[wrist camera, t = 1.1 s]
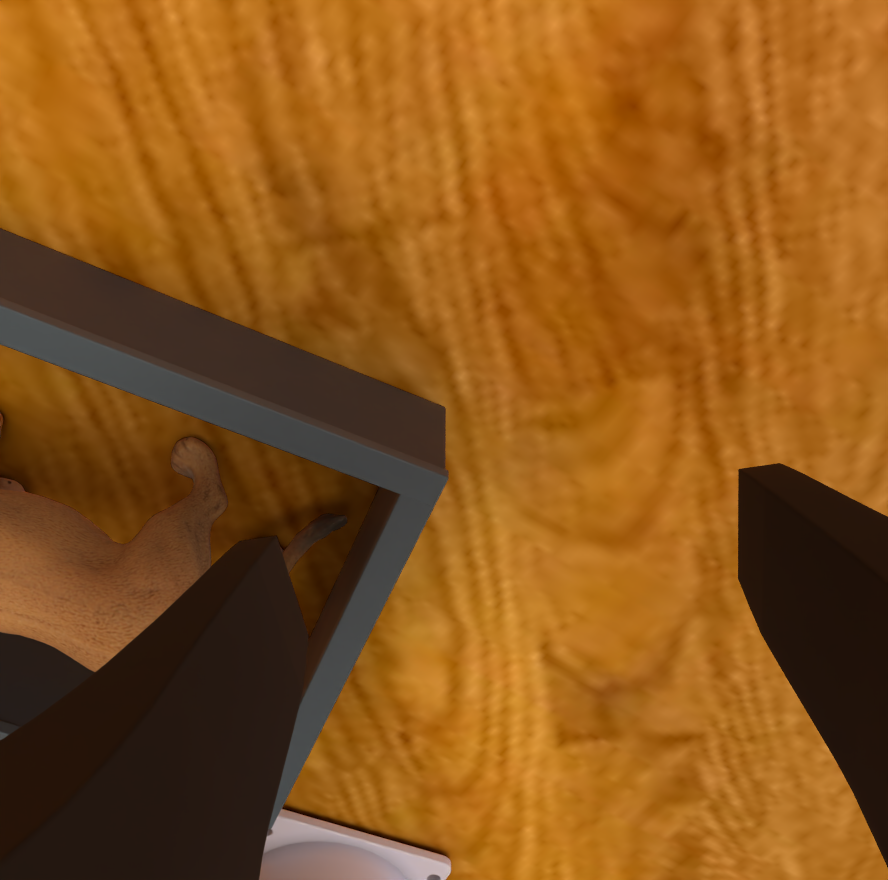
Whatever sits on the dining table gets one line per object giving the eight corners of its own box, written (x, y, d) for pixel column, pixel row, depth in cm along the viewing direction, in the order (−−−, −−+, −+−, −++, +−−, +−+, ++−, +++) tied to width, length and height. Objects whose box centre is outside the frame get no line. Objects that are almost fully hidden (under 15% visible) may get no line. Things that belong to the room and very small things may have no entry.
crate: (295, 724, 27) (271, 830, 23) (-233, 561, 24) (-358, 653, 20) (448, 406, 22) (449, 478, 18) (-213, 139, 19) (-381, 159, 15)
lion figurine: (-127, 530, 24) (-424, 772, 16) (-169, 371, 21) (-545, 560, 13) (345, 575, 24) (294, 829, 16) (355, 426, 22) (301, 637, 14)
